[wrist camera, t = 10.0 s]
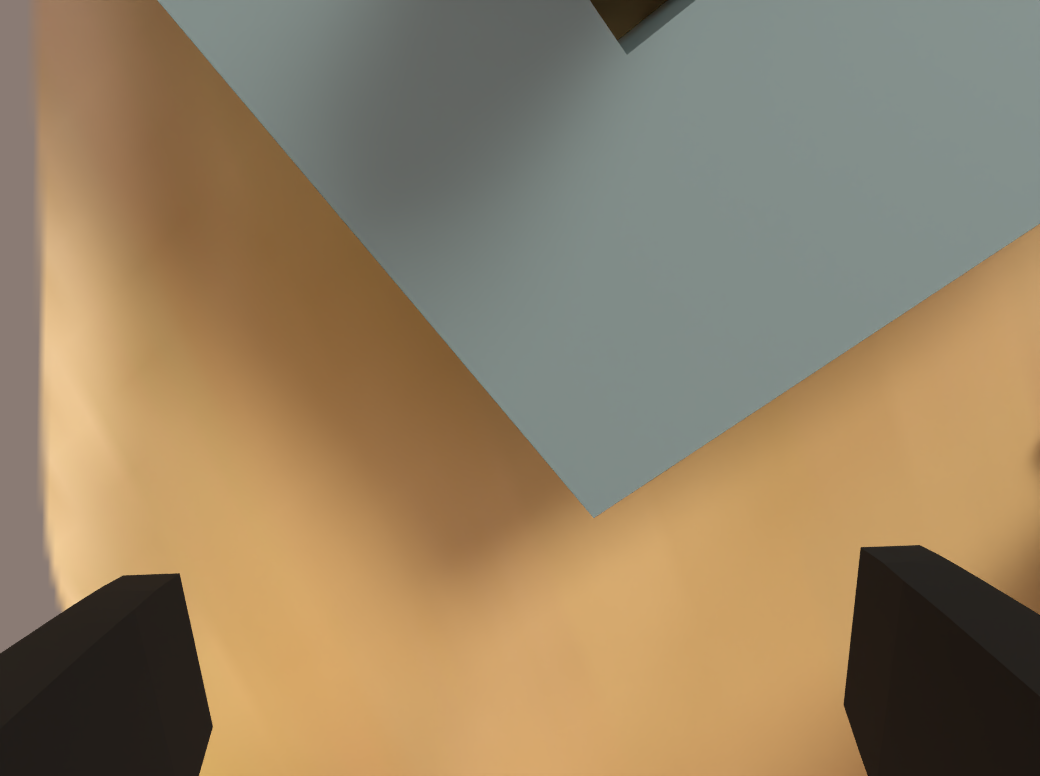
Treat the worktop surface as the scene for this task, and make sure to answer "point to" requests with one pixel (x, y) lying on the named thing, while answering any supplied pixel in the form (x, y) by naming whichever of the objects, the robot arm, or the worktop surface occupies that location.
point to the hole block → (649, 187)
